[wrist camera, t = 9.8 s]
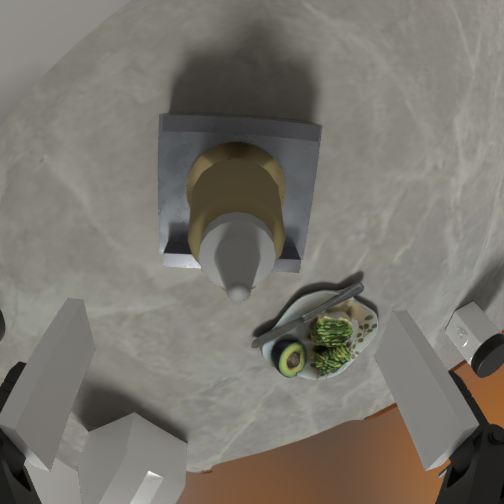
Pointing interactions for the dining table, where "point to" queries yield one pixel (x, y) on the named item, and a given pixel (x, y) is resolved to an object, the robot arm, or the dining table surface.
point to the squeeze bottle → (236, 225)
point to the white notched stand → (132, 464)
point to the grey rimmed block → (228, 147)
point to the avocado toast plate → (319, 334)
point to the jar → (477, 339)
